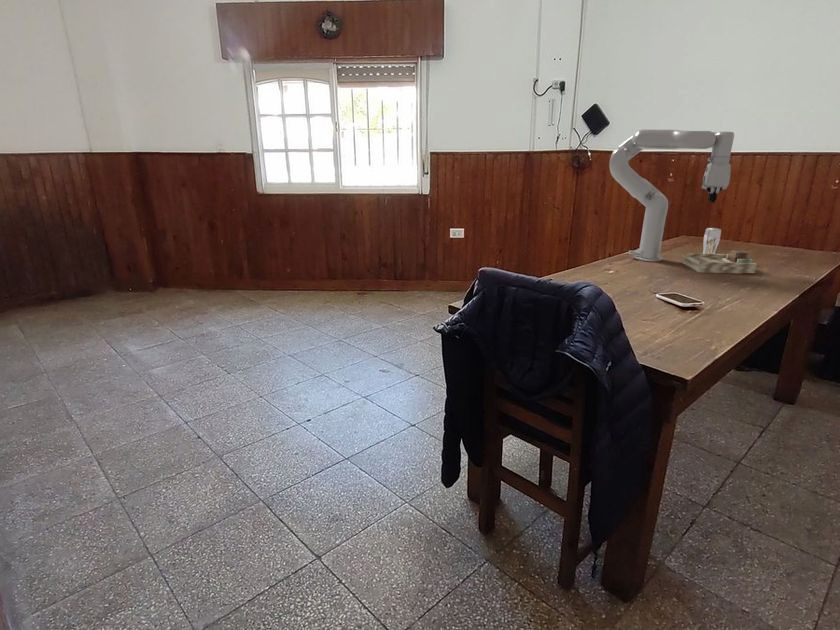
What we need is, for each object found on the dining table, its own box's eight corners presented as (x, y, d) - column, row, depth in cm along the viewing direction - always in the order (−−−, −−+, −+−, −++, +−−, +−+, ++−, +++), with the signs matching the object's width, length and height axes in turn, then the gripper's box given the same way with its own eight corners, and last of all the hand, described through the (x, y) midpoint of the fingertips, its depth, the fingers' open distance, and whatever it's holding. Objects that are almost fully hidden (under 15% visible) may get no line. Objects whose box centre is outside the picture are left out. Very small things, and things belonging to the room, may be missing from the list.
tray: (698, 272, 226) (700, 260, 224) (681, 262, 244) (683, 251, 242) (754, 273, 224) (757, 261, 222) (733, 263, 242) (736, 252, 240)
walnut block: (733, 263, 230) (736, 252, 228) (728, 260, 235) (731, 250, 233) (745, 263, 229) (747, 252, 228) (740, 261, 234) (742, 250, 232)
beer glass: (718, 260, 248) (724, 230, 243) (704, 260, 248) (710, 230, 243) (711, 257, 255) (717, 227, 250) (697, 257, 255) (702, 227, 250)
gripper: (705, 160, 224) (698, 202, 230) (741, 161, 223) (732, 203, 229) (698, 160, 231) (691, 200, 237) (732, 160, 230) (724, 201, 236)
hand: (711, 201), depth 233 cm, fingers closed
